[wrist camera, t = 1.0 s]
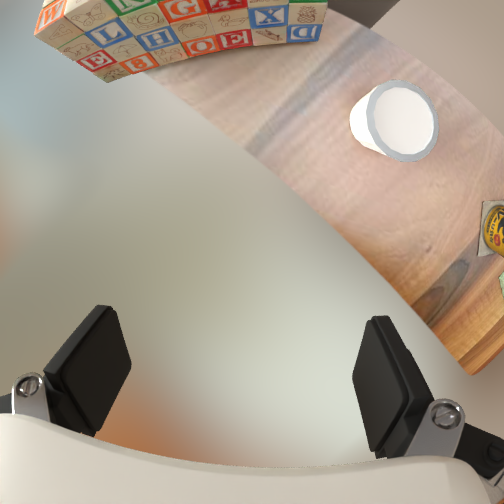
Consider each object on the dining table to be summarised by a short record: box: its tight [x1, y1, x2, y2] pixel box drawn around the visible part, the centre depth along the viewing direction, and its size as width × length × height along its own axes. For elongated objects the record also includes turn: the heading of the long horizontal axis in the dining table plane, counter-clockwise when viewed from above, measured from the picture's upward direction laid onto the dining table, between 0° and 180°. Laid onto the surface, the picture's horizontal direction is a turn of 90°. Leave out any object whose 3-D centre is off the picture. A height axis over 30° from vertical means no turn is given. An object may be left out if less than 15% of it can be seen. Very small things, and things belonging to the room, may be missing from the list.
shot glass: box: [349, 80, 439, 162], centre depth 22 cm, size 7×7×7 cm
